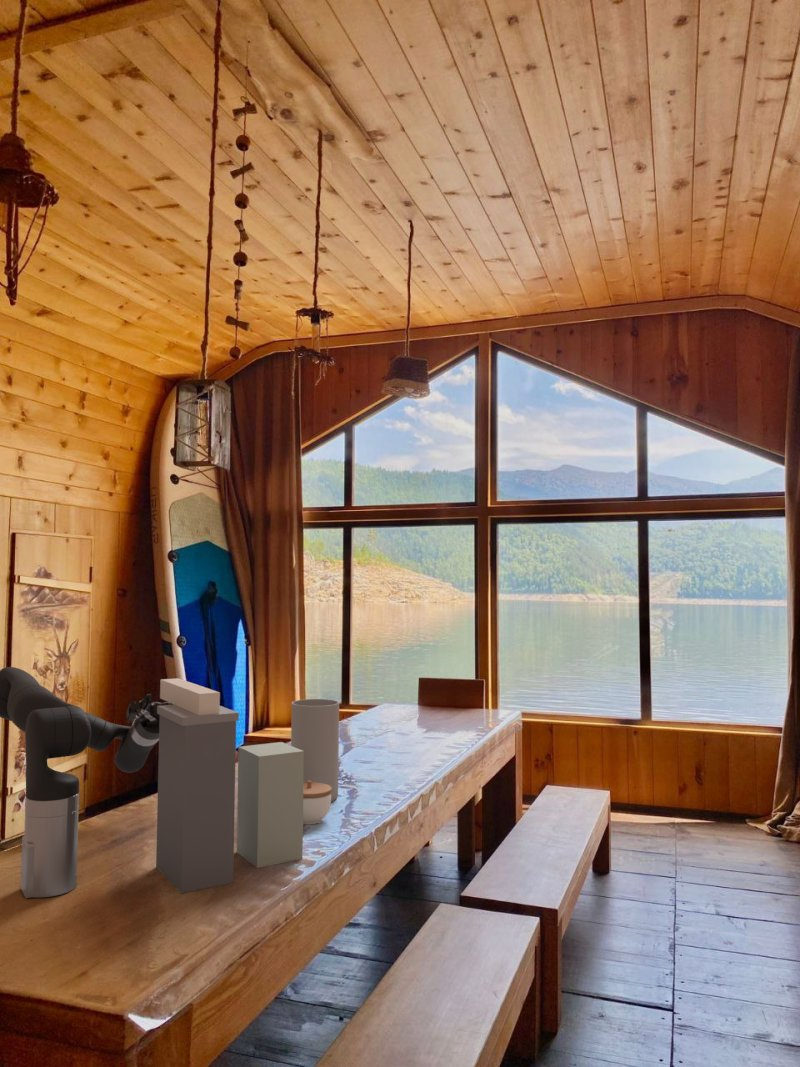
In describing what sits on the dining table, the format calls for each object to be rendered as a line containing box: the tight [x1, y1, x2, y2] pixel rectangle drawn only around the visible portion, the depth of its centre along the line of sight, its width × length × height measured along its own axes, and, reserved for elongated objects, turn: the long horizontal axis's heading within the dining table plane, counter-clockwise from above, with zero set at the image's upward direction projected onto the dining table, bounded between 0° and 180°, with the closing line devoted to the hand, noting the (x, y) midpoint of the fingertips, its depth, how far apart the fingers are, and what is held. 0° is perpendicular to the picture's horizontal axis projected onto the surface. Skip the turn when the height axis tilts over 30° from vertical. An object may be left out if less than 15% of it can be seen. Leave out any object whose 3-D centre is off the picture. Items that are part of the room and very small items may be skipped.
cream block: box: [159, 677, 221, 715], centre depth 165 cm, size 4×25×4 cm, turn 33°
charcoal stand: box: [155, 704, 240, 894], centre depth 160 cm, size 11×16×32 cm
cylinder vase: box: [290, 698, 340, 802], centre depth 215 cm, size 12×12×25 cm
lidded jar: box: [303, 781, 332, 825], centre depth 195 cm, size 11×11×9 cm
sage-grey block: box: [236, 741, 304, 868], centre depth 171 cm, size 10×11×22 cm
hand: (170, 696), depth 175 cm, fingers open, 8 cm apart
